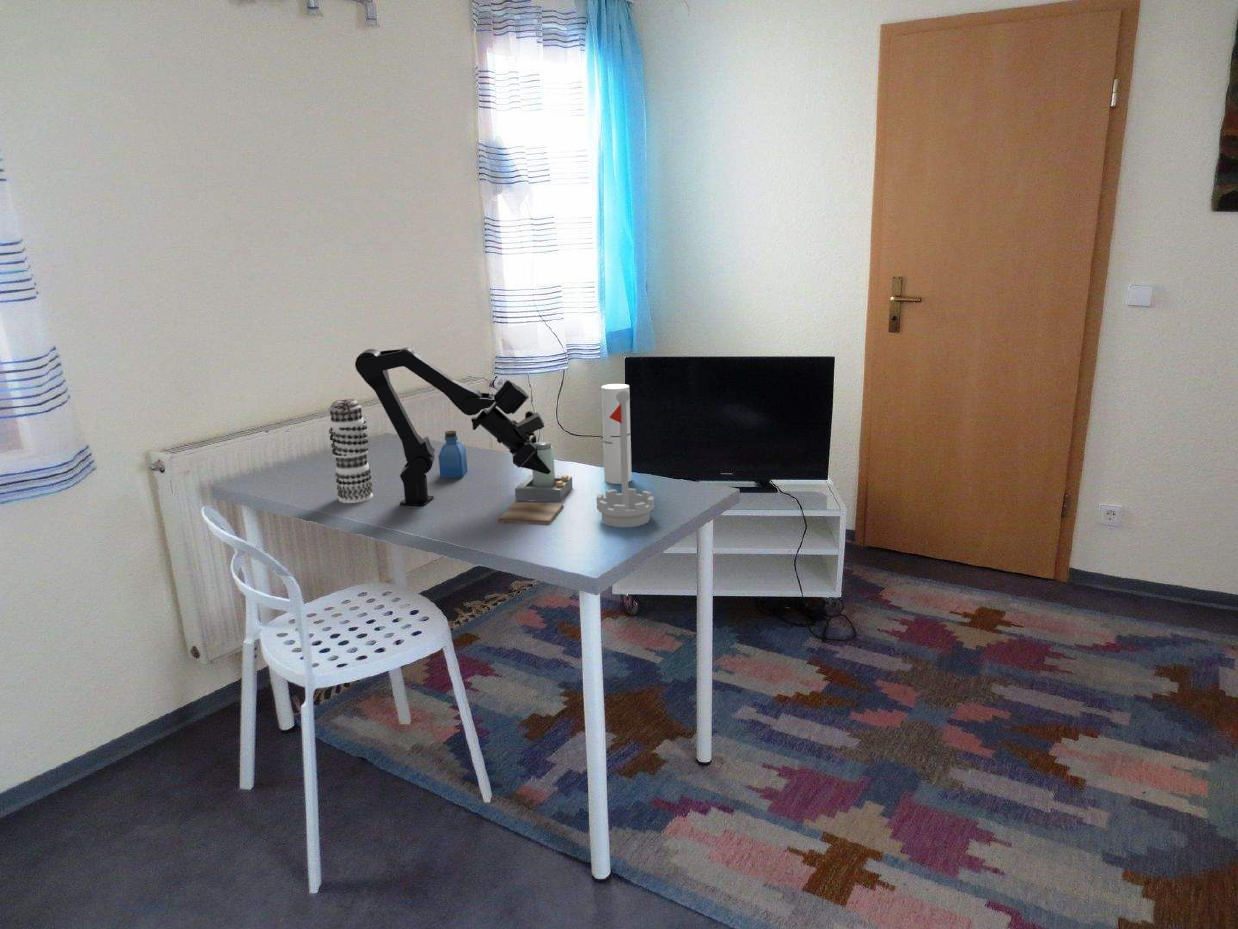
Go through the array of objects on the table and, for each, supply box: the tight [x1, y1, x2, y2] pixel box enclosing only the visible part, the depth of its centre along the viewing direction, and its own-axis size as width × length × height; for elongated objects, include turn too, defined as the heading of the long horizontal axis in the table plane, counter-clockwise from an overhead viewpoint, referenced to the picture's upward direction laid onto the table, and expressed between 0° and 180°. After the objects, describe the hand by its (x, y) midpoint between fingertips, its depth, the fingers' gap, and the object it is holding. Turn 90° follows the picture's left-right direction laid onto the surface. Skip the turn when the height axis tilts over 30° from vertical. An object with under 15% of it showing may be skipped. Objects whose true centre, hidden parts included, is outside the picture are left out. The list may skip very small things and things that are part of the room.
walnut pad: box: [498, 501, 564, 525], centre depth 200 cm, size 12×12×1 cm
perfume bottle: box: [438, 430, 468, 479], centre depth 233 cm, size 6×6×12 cm
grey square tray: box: [514, 474, 573, 503], centre depth 215 cm, size 12×12×4 cm
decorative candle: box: [327, 398, 374, 504], centre depth 213 cm, size 9×9×25 cm
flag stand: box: [596, 390, 655, 528], centre depth 191 cm, size 13×13×30 cm
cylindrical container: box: [601, 383, 632, 485], centre depth 222 cm, size 7×7×25 cm
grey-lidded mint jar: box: [531, 441, 556, 487], centre depth 213 cm, size 6×6×13 cm
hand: (548, 468), depth 213 cm, fingers open, 8 cm apart
